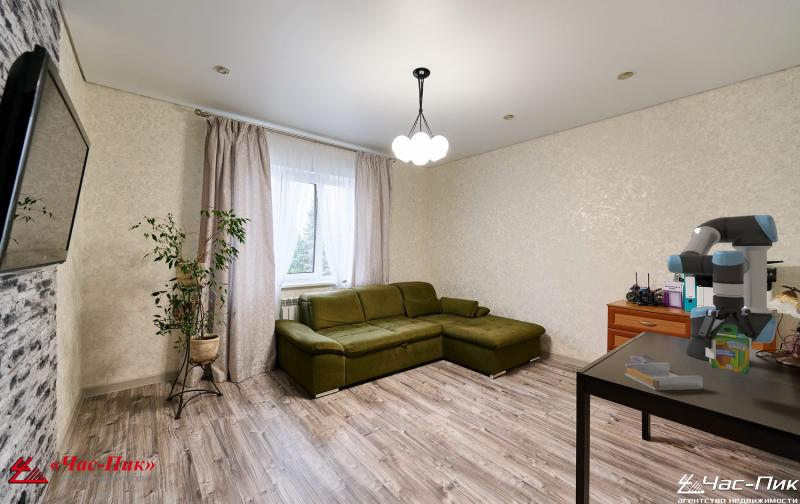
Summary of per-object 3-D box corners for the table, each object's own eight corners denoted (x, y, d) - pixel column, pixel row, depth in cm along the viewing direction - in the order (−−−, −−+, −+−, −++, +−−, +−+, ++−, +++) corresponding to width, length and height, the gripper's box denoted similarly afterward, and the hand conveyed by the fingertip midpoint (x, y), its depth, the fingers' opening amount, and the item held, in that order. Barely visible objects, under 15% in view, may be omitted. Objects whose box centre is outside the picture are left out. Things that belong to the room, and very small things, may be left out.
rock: (664, 374, 127) (664, 362, 127) (630, 368, 134) (630, 357, 134) (663, 368, 134) (663, 357, 134) (630, 362, 141) (630, 352, 141)
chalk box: (710, 368, 109) (710, 325, 108) (708, 360, 116) (708, 320, 115) (750, 375, 103) (750, 330, 102) (745, 366, 110) (745, 324, 109)
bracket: (667, 373, 128) (667, 362, 128) (702, 388, 114) (702, 376, 114) (625, 374, 127) (625, 363, 126) (655, 390, 113) (655, 378, 113)
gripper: (748, 292, 113) (748, 351, 113) (684, 294, 112) (684, 354, 112) (774, 295, 105) (774, 358, 106) (705, 298, 104) (706, 362, 105)
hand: (728, 356), depth 109 cm, fingers closed on chalk box, 12 cm apart
